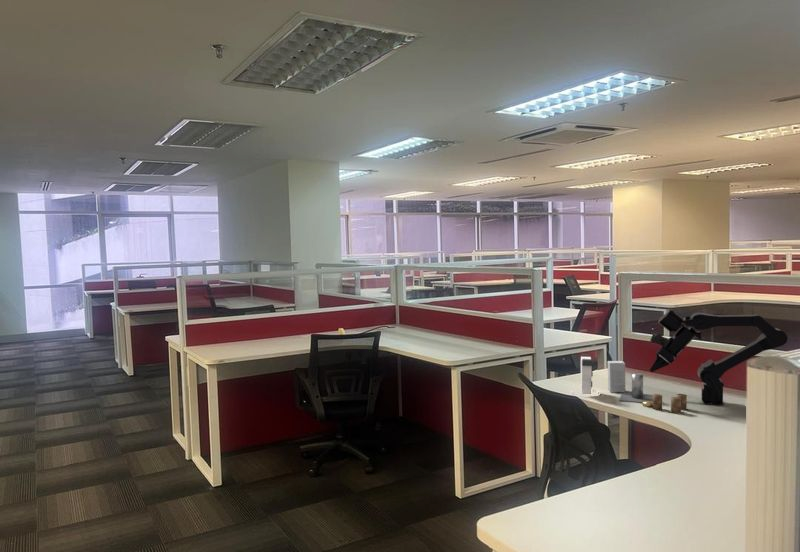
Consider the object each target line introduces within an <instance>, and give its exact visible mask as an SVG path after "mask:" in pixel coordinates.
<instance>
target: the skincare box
mask: <svg viewBox="0 0 800 552" xmlns="http://www.w3.org/2000/svg"><path fill="white" fill-rule="evenodd" d="M607 391H609V392H610V393H621V392H625V393H626V363H625V362H624V361H623V360H607Z"/></svg>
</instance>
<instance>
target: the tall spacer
mask: <svg viewBox="0 0 800 552" xmlns="http://www.w3.org/2000/svg"><path fill="white" fill-rule="evenodd" d="M631 393H632V398H635V399H642V398H643V394H644V374H643V373H639V372H637V373H636V372H634V373H632V374H631Z"/></svg>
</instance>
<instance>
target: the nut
mask: <svg viewBox="0 0 800 552" xmlns="http://www.w3.org/2000/svg"><path fill="white" fill-rule="evenodd" d="M642 407H645V408H653V401H643V403H642Z"/></svg>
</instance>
